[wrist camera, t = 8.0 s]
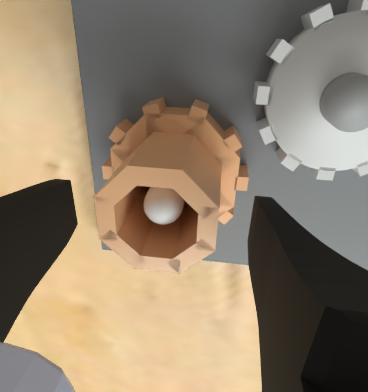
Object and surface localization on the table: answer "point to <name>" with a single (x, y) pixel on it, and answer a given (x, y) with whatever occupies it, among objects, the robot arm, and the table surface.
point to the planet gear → (169, 185)
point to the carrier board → (243, 101)
